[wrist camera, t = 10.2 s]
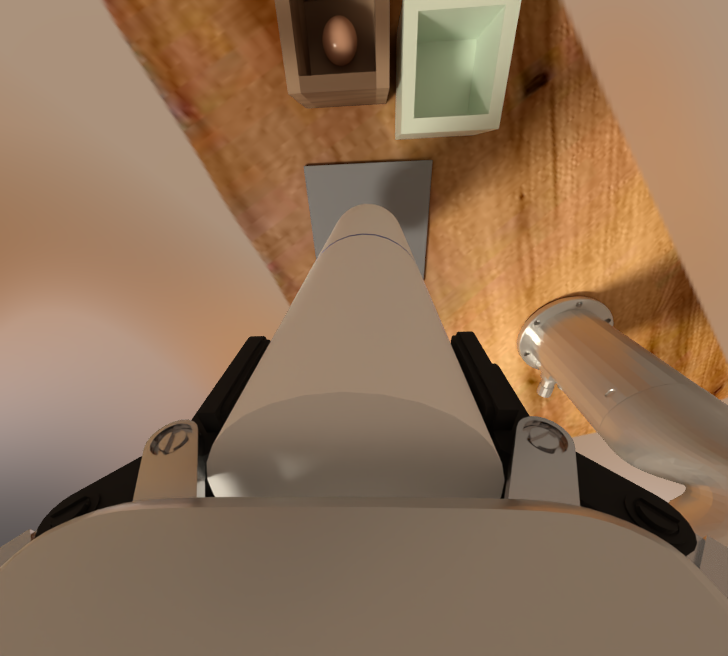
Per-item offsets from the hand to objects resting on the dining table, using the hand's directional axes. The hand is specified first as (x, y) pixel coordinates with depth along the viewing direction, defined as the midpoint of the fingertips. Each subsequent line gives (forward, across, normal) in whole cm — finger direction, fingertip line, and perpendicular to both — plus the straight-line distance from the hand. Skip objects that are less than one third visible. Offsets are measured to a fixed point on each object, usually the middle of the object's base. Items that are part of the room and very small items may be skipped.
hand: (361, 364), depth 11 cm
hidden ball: (+24, +2, -16) cm, 29 cm away
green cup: (+26, -7, -13) cm, 30 cm away
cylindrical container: (+20, 0, 0) cm, 20 cm away
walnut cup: (+26, +2, -16) cm, 31 cm away
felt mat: (+26, 0, 0) cm, 26 cm away
